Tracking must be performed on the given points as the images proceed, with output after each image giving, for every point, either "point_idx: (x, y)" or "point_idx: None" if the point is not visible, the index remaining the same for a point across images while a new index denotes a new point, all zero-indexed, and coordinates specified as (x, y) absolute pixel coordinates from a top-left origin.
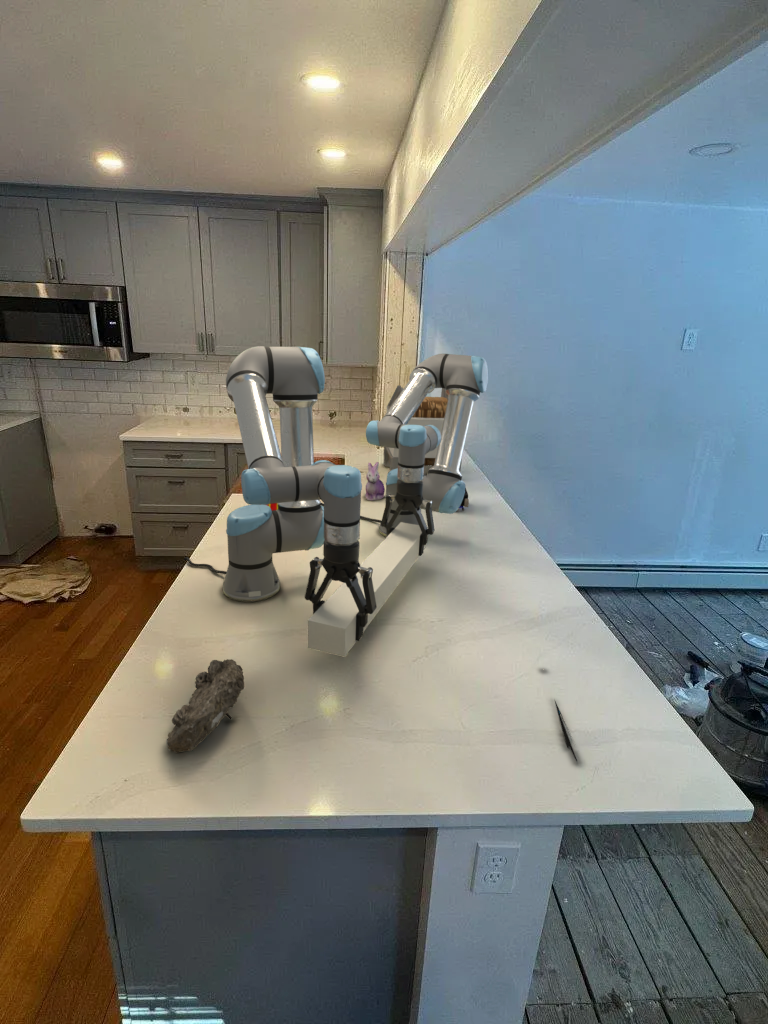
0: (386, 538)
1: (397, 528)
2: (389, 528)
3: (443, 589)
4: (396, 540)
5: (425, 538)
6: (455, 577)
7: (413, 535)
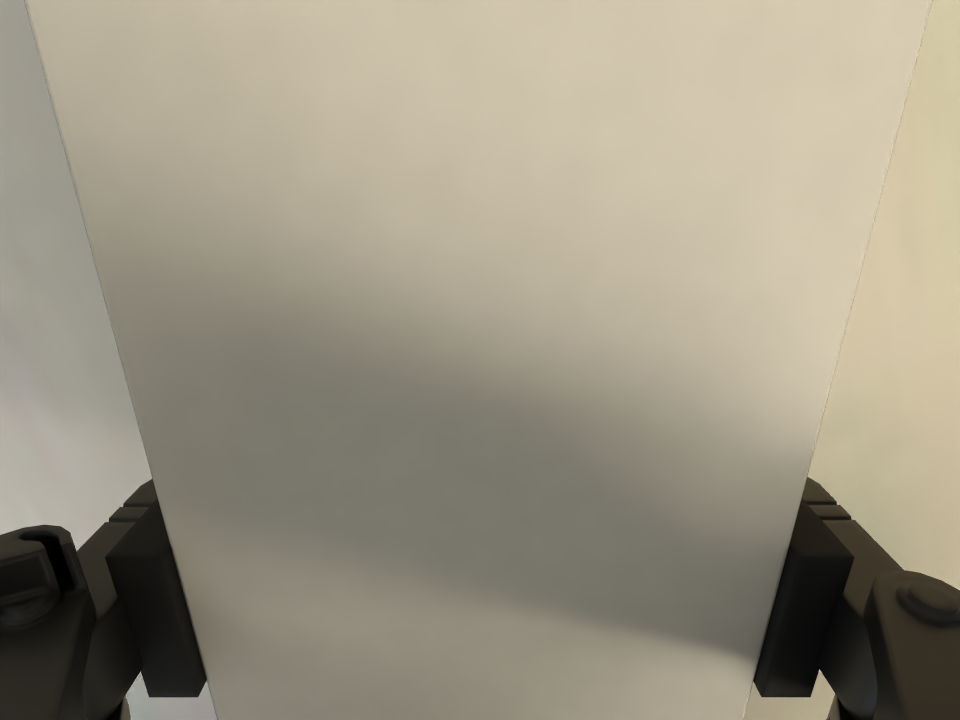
0: (883, 67)
1: (703, 695)
2: (885, 594)
3: (24, 106)
4: (568, 45)
5: (98, 548)
6: (61, 376)
7: (300, 530)
